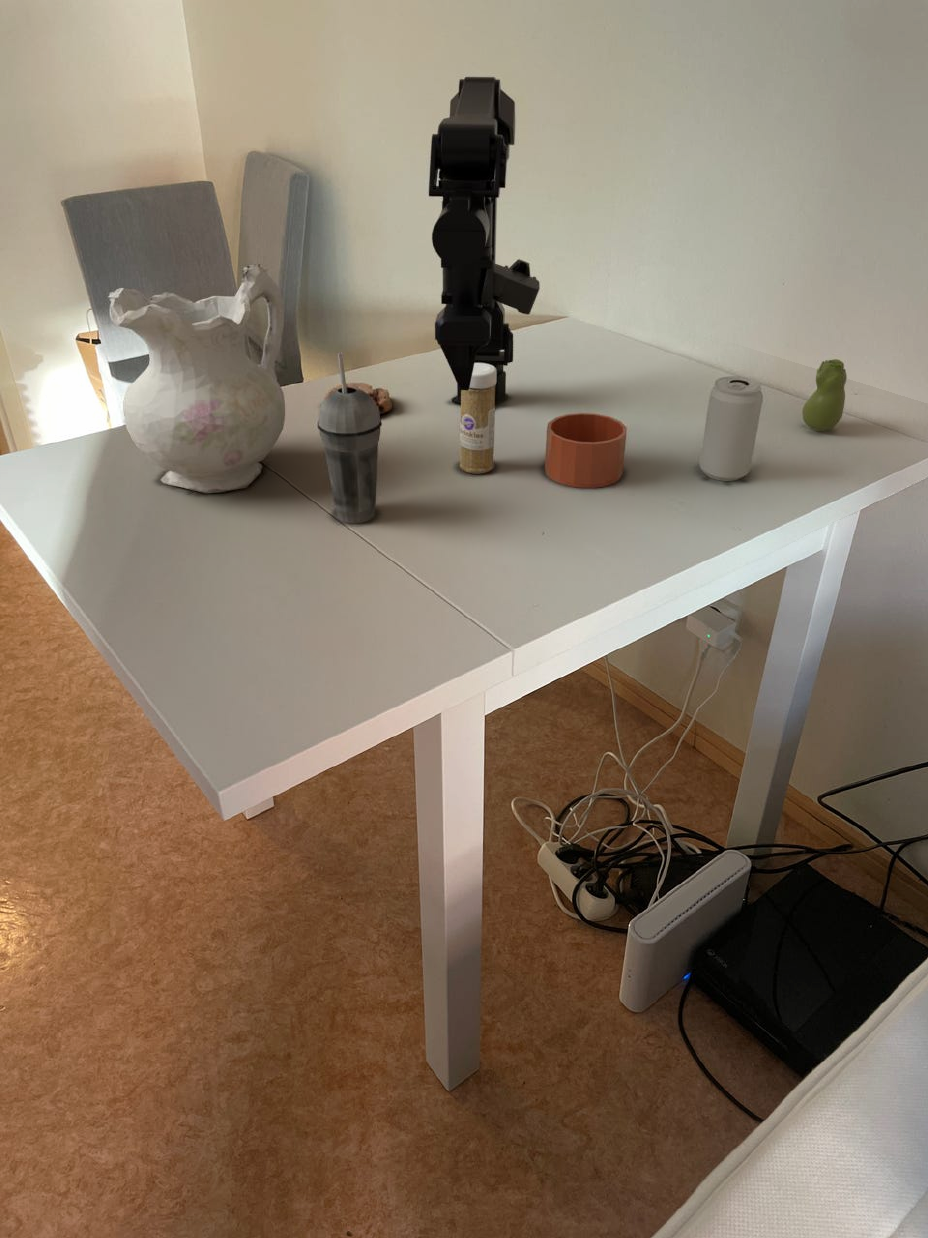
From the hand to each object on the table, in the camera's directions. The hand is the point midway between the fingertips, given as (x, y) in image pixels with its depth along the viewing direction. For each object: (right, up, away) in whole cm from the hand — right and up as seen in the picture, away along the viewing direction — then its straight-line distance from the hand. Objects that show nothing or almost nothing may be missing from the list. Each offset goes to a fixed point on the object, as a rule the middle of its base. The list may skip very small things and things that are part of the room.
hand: (466, 376), depth 119 cm
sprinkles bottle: (+1, -10, +7) cm, 13 cm away
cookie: (-16, +1, +24) cm, 29 cm away
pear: (+50, -3, +18) cm, 53 cm away
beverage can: (+33, -11, +6) cm, 36 cm away
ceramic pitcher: (-32, -11, +6) cm, 34 cm away
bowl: (+15, -11, +6) cm, 20 cm away
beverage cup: (-13, -18, -4) cm, 23 cm away
